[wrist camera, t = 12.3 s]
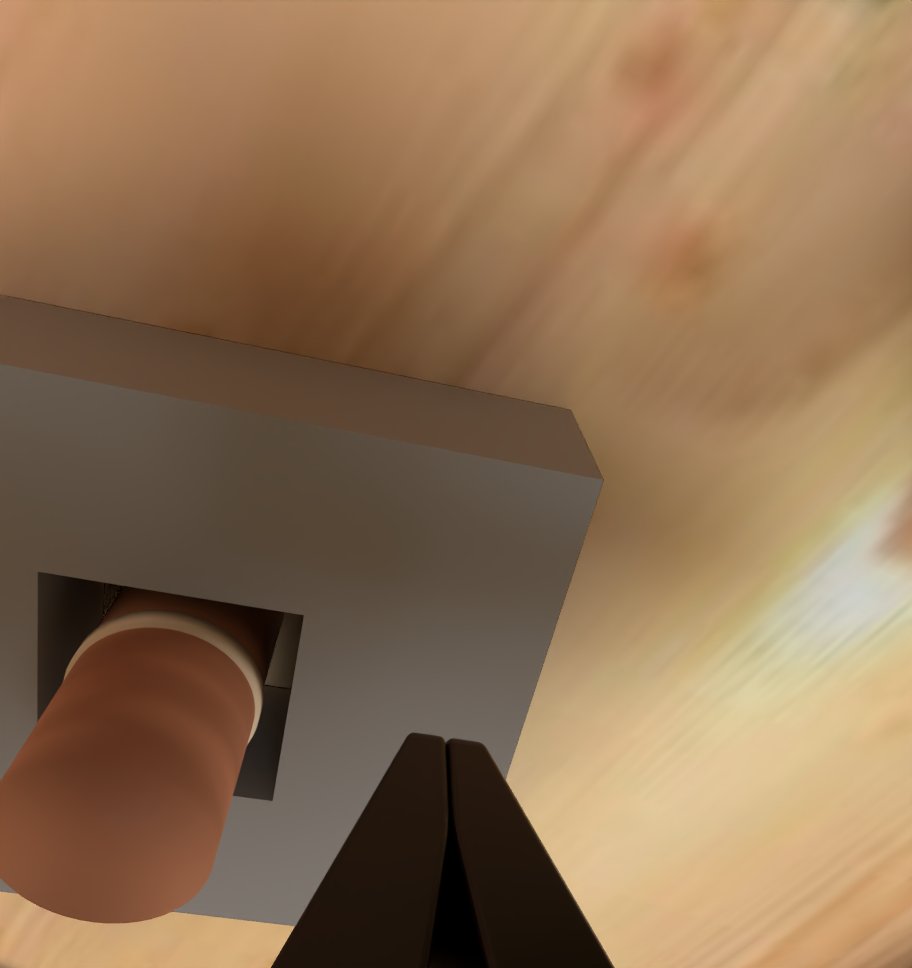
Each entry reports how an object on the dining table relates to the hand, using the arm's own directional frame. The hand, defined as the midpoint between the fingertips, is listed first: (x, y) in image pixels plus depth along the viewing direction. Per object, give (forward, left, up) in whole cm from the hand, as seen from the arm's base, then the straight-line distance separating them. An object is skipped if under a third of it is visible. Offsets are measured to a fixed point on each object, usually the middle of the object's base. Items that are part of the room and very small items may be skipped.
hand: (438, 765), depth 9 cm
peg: (+5, +6, -12) cm, 14 cm away
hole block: (+5, +6, -12) cm, 14 cm away
